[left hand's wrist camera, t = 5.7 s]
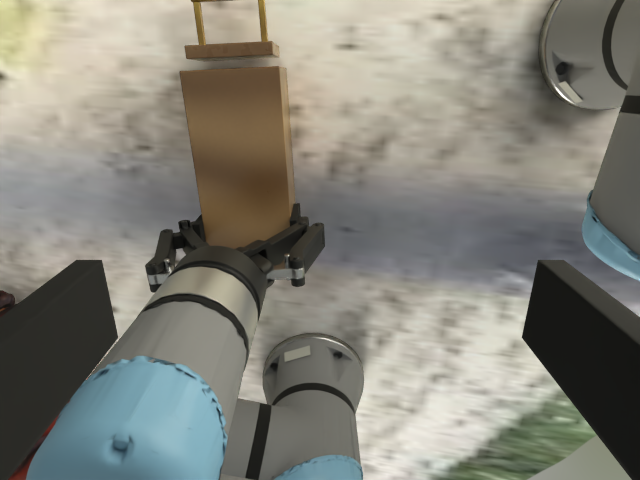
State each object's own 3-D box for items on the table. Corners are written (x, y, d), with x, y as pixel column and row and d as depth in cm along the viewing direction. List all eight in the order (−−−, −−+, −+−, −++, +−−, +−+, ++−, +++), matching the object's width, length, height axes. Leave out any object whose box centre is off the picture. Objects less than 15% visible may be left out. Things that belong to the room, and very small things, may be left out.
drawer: (194, -7, 45) (174, -20, 39) (274, -11, 45) (267, -25, 38) (224, 213, 54) (211, 231, 48) (290, 211, 54) (286, 228, 47)
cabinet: (202, 72, 48) (179, 71, 41) (286, 68, 48) (279, 66, 40) (224, 236, 56) (208, 261, 48) (297, 233, 56) (293, 258, 48)
